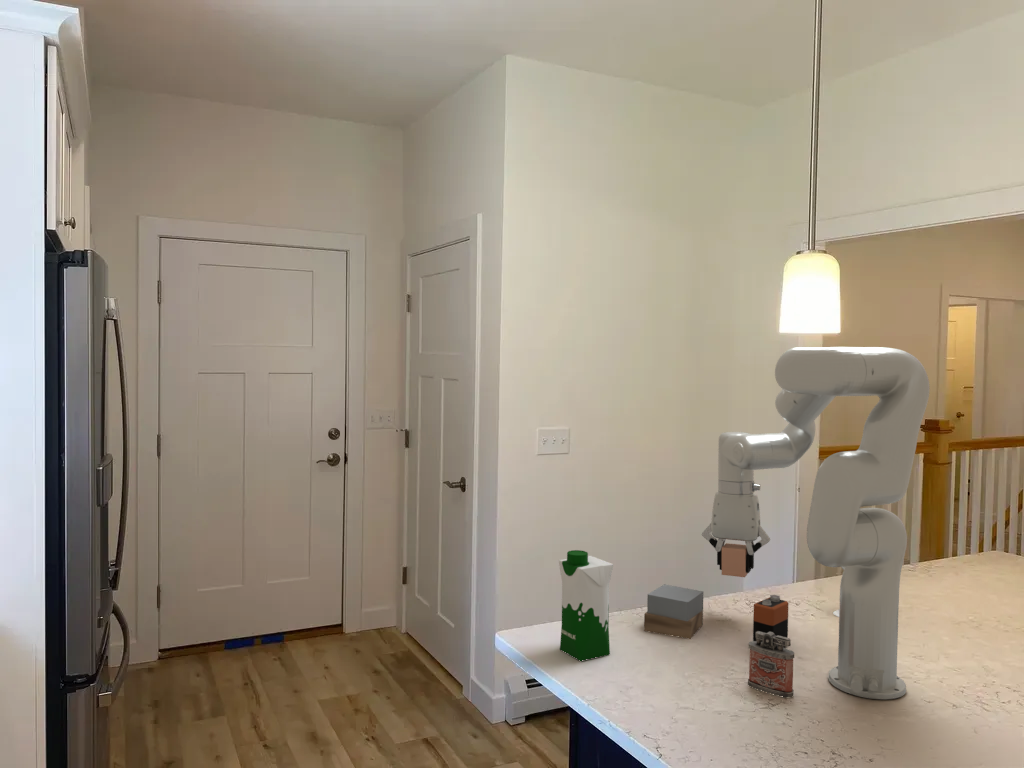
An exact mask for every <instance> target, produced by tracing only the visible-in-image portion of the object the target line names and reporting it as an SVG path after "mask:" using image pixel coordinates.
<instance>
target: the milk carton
mask: <svg viewBox="0 0 1024 768" xmlns="http://www.w3.org/2000/svg"><path fill="white" fill-rule="evenodd" d="M558 564H559V565H558V566H559V570H560V577H561V629H560V644H559V650H560V651H561V650H562V652H563V651H564V653H565V652H566V653H565V654H567V653H568V654H569V655H568V654H567V655H568V656H570V655H571V656H570V657H572V656H573V657H575V658H577V659H578V660H577V659H576V660H577V661H579V660H580V661H581V662H583V661H582V660H585V661H587V660H586V659H590V660H592V659H591V658H594V659H596V658H595V657H598V658H601V657H600V656H602V657H605V656H604V655H606V656H609V654H611V651H610V649H611V648H610V630H609V627H610V626H609V625H610V624H609V622H610V620H609V619H610V618H609V615H610V614H609V613H610V612H609V611H610V610H609V609H610V581H611V577H612V571H613V567H614V564H613V563H611V562H608V561H605V560H604V559H600V558H599V557H595V556H593V555H589V553H588V551H585V550H581V549H580V550H578V549H575V550H568V551H567V553H566V558H563V559H558ZM573 657H572V658H573ZM575 658H574V659H575ZM580 661H579V662H580Z"/></svg>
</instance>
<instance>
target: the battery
mask: <svg viewBox="0 0 1024 768" xmlns="http://www.w3.org/2000/svg"><path fill="white" fill-rule="evenodd" d="M769 596H770V597H767V598H764V599H762V600H760V601H758V602H755V603H753V616H752V617H753V621H752V622H753V624H752V641H756V632H757V631H760V632H764V633H768V632H773V633H774V634H775V636H778V635H779V636H783V637H786V638H789V634H788V633H789V601H787V600H783V599H781V596H780V595H777V594H770V595H769ZM761 642H762V641H761ZM778 645H779V644H778ZM785 647H786V646H783V648H785Z"/></svg>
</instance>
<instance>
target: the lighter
mask: <svg viewBox="0 0 1024 768" xmlns="http://www.w3.org/2000/svg"><path fill="white" fill-rule="evenodd" d="M761 641H762V642H761ZM791 643H792V640H791V639H790V638H789V637H788V638H786V637H783V636H779V635H778V636H775V634H774V633H773V632H768V633H764V632H760V631H757V632H756V641H753V640H751V641H748V649H749V659H748V660H749V665H748V669H749V670H748V673H749V674H748V679H747V686H748V685H749V686H751V687H750V688H752V687H753V688H752V689H754V688H756V689H758V690H757V691H759V690H762V691H764V692H763V693H765V692H767V693H766V694H768V693H771V694H774V695H773V696H775V695H779V696H783V697H782V698H784V697H792V696H793V695H794V689H793V687H794V686H793V684H794V682H793V681H794V659H795V654H796V653H795V651H793V650H791V649H788V648H789V647H791ZM778 644H779V645H778ZM783 646H785V647H787V648H785V647H783ZM749 686H748V687H749ZM756 689H755V690H756ZM762 691H761V692H762ZM771 694H770V695H771ZM779 696H778V697H779ZM793 697H794V696H793ZM793 697H792V698H793Z"/></svg>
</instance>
